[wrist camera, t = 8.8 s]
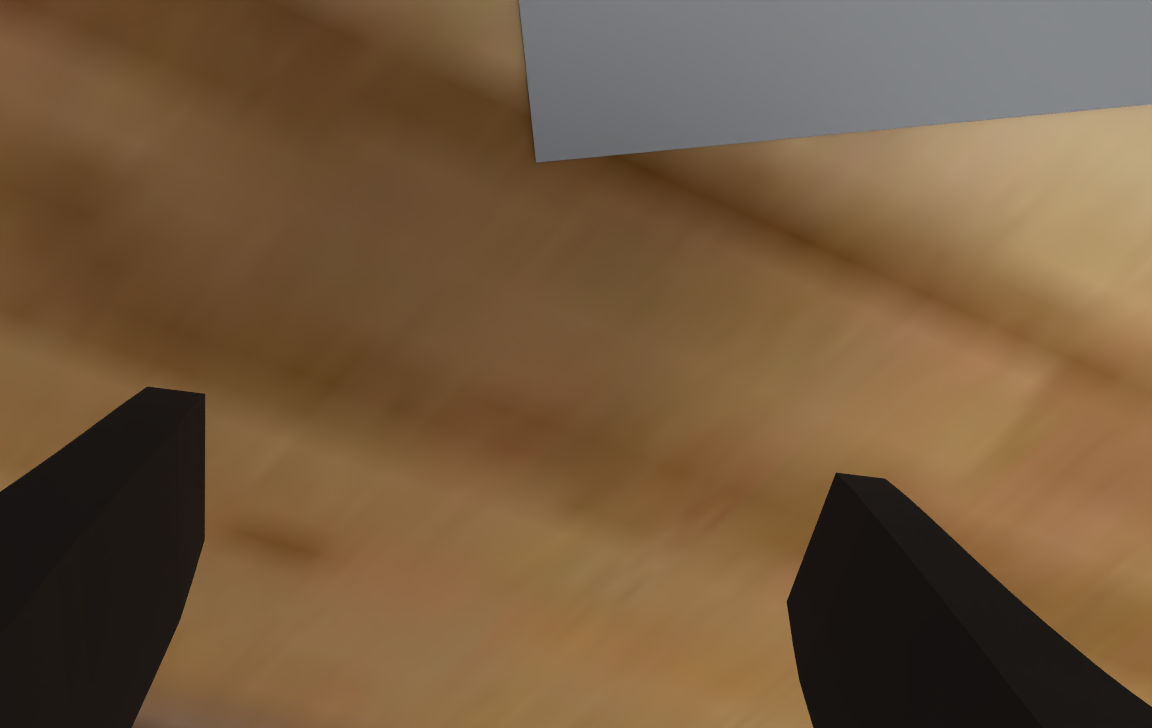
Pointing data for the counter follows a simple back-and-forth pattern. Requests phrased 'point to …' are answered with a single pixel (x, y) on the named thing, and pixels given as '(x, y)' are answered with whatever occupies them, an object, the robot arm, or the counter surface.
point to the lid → (816, 67)
